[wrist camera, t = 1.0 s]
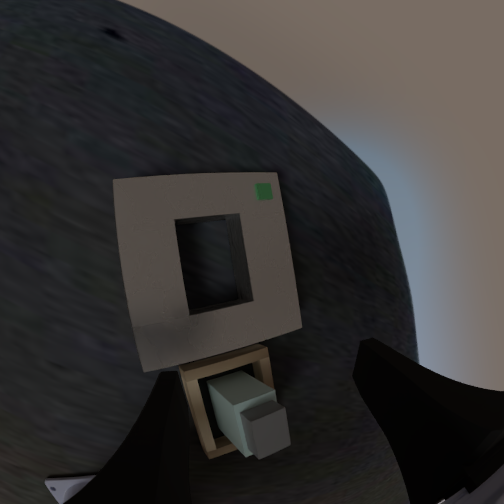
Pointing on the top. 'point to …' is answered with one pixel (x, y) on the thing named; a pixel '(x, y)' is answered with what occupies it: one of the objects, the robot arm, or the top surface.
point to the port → (170, 274)
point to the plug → (249, 414)
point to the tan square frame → (213, 366)
